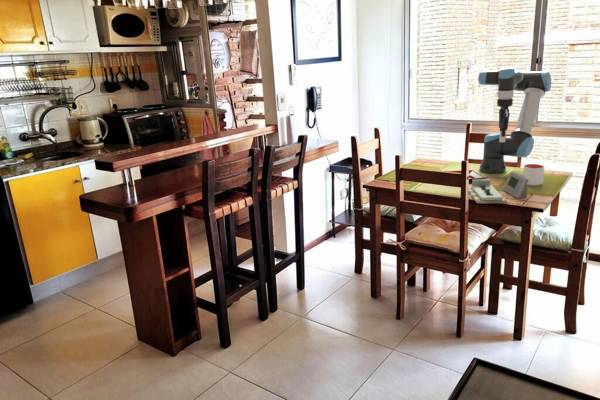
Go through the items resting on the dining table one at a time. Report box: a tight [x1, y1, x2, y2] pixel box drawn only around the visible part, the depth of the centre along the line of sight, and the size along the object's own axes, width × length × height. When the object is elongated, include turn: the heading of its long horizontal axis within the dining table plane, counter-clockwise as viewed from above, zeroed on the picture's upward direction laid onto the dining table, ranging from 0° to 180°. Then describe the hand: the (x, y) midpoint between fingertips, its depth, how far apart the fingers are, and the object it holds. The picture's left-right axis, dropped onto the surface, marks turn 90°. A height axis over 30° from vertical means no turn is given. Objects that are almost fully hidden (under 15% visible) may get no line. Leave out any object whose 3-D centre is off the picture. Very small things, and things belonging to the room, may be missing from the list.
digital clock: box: [503, 171, 528, 199], centre depth 234 cm, size 16×9×11 cm, turn 170°
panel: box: [470, 178, 504, 200], centre depth 234 cm, size 22×10×4 cm, turn 173°
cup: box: [522, 163, 545, 187], centre depth 250 cm, size 10×10×10 cm
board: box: [468, 183, 508, 204], centre depth 237 cm, size 29×14×4 cm, turn 173°
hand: (502, 142), depth 248 cm, fingers closed
